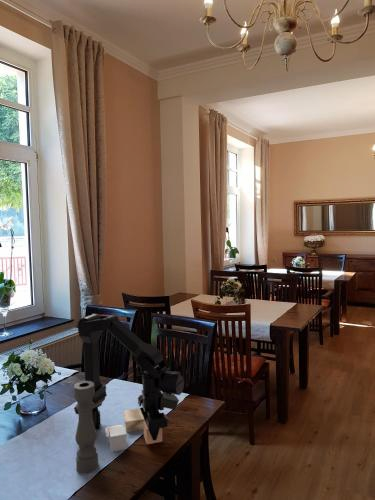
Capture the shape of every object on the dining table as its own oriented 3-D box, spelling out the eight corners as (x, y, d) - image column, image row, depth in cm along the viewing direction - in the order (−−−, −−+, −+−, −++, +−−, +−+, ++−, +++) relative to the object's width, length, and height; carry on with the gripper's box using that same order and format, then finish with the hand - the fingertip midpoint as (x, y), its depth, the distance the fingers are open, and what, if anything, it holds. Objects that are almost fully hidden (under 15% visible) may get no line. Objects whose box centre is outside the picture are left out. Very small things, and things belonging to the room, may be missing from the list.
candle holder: (87, 476, 112) (83, 391, 110) (71, 469, 115) (68, 386, 113) (102, 464, 117) (99, 383, 115) (87, 458, 120) (84, 378, 118)
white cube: (111, 452, 123) (110, 436, 123) (109, 443, 128) (108, 428, 128) (127, 448, 125) (126, 433, 124) (124, 440, 130) (124, 425, 129)
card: (106, 437, 131) (106, 436, 131) (104, 428, 137) (104, 427, 137) (124, 434, 133) (124, 433, 133) (122, 425, 139) (122, 424, 139)
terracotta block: (146, 444, 125) (146, 429, 124) (143, 436, 129) (143, 421, 129) (162, 441, 126) (161, 426, 126) (158, 433, 131) (158, 418, 130)
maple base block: (126, 432, 135) (125, 421, 134) (124, 421, 142) (124, 410, 142) (149, 429, 136) (149, 418, 136) (146, 418, 144) (146, 407, 144)
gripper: (184, 397, 120) (185, 446, 121) (168, 374, 138) (169, 417, 139) (148, 403, 117) (149, 453, 118) (137, 379, 134) (138, 423, 136)
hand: (152, 435), depth 128 cm, fingers closed on terracotta block, 5 cm apart
